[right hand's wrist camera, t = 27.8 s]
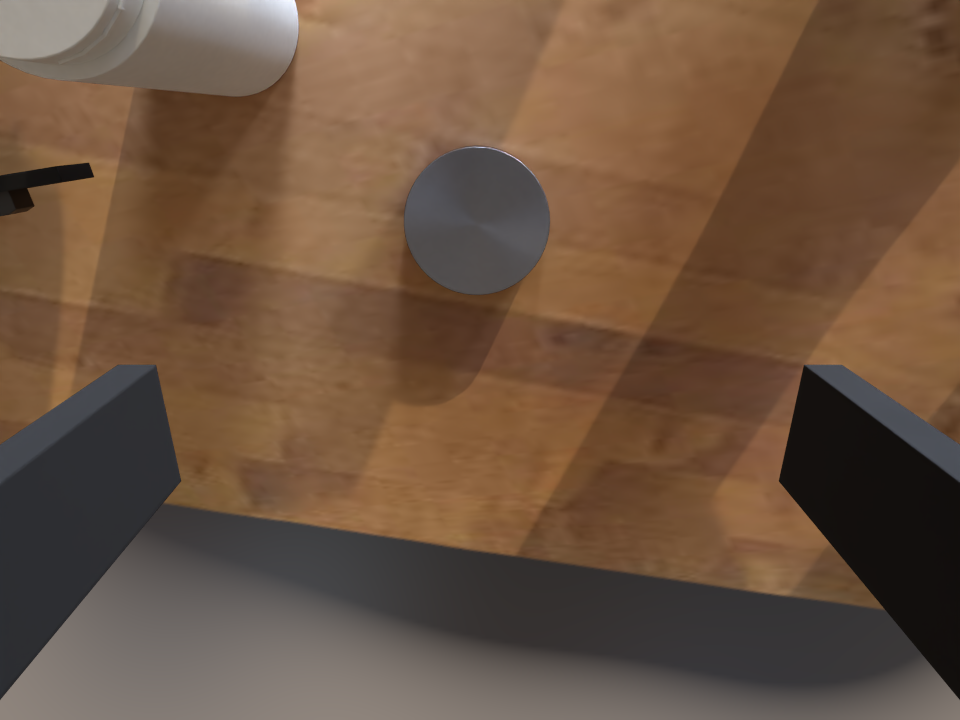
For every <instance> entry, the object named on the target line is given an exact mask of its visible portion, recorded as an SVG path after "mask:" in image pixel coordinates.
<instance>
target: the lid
mask: <svg viewBox="0 0 960 720" xmlns="http://www.w3.org/2000/svg"><path fill="white" fill-rule="evenodd" d="M549 228H550V213H549V207H548V202H547V199H546V196H545V193H544V191H543V189H542V187H541V185H540V183H539V181H538V180H537V178H536V177H535V176H534V174H533V173H532V172H531V171H530V170H529V169H528V168H527V167H526V166H525V165H524V164H523V163H522V162H521V161H520V160H518V159H517V158H515V157H514V156H512V155H511V154H509V153H507V152H505V151H503V150H500V149H496V148H493V147H488V146H465V147H461V148H457V149H454V150H452V151H449V152H447V153H445V154H443V155H442V156H440V157H438V158H437V159H436V160H434V161H433V162H432V163H431V164H430V165H428V166H427V167H426V168H425V169H424V170H423V171H422V173H421V174H420V175H419V177H418V178H417V179H416V181H415V183H414V184H413V186H412V188H411V190H410V193H409V195H408V198H407V202H406V206H405V212H404V229H405V236H406V240H407V243H408V246H409V249H410V251H411V254H412V255H413V257H414V259H415V261H416V262H417V264H418V265H419V266H420V268H421V269H422V270H423V271H424V272H425V273H426V274H427V275H428V276H429V277H430V278H431V279H433V280H434V281H435V282H437V283H438V284H440V285H442V286H443V287H445V288H448V289H450V290H452V291H456V292H459V293H463V294H469V295H483V294H491V293H495V292H499V291H501V290H504V289H507V288H509V287H511V286H513V285H514V284H516V283H517V282H519V281H520V280H522V279H523V278H524V277H525V276H526V275H527V274H528V273H529V272H530V271H531V270H532V269H533V268H534V267H535V265H536V264H537V262H538V261H539V259H540V257H541V255H542V253H543V251H544V249H545V246H546V243H547V240H548V235H549Z"/></svg>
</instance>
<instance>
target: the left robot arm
mask: <svg viewBox="0 0 960 720" xmlns="http://www.w3.org/2000/svg"><path fill="white" fill-rule="evenodd" d="M92 177H94V175H93V173H92V170H91V167H90V165H89V163H83V164H73V165H64V166H55V167H49V168H43V169H37V170H31V171H25V172H19V173H13V174H7V175H1V176H0V216H4V215H10V214H15V213H20V212H25V211H28V210H29V209H31V208H32V207H34V204H33V201H32V199H31V197H30V194H29V192H28V189H27V188H31V187H37V186H43V185H49V184H55V183H61V182H67V181H74V180H80V179H86V178H92Z"/></svg>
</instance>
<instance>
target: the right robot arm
mask: <svg viewBox="0 0 960 720" xmlns="http://www.w3.org/2000/svg"><path fill="white" fill-rule="evenodd" d="M180 482H181V478H180V474H179V469H178V464H177V460H176V455H175V451H174V446H173V441H172V437H171V432H170V427H169V423H168V418H167V414H166V409H165V404H164V400H163V395H162V391H161V386H160V381H159V377H158V372H157V368H156V365H117V366H116V367H114V368H113V369H111V370H110V371H108V372H107V373H105V374H104V375H102V376H101V377H99V378H98V379H97V380H95V381H94V382H92V383H91V384H89V385H88V386H86V387H85V388H83V389H82V390H80V391H79V392H77V393H76V394H74V395H73V396H71V397H70V398H68V399H67V400H65V401H64V402H63V403H61V404H60V405H58V406H57V407H55V408H54V409H52V410H51V411H49V412H48V413H46V414H45V415H43V416H42V417H40V418H39V419H37V420H36V421H34V422H33V423H32V424H30V425H29V426H27V427H26V428H24V429H23V430H21V431H20V432H18V433H17V434H15V435H14V436H12V437H11V438H9V439H8V440H6V441H5V442H3V443H2V444H0V699H1V698H2V697H3V696H4V695H5V693H6V692H7V691H8V690H9V688H10V687H11V686H12V685H13V684H14V682H15V681H16V680H17V679H18V678H19V676H20V675H21V674H22V673H23V672H24V670H25V669H26V668H27V667H28V666H29V664H30V663H31V662H32V661H33V659H34V658H35V657H36V656H37V655H38V653H39V652H40V651H41V650H42V648H43V647H44V646H45V645H46V644H47V643H48V641H49V640H50V639H51V638H52V636H53V635H54V634H55V633H56V632H57V630H58V629H59V628H60V627H61V626H62V624H63V623H64V622H65V621H66V620H67V618H68V617H69V616H70V615H71V614H72V612H73V611H74V610H75V609H76V608H77V606H78V605H79V604H80V603H81V601H82V600H83V599H84V598H85V597H86V595H87V594H88V593H89V592H90V591H91V589H92V588H93V587H94V586H95V585H96V583H97V582H98V581H99V580H100V578H101V577H102V576H103V575H104V574H105V572H106V571H107V570H108V569H109V568H110V566H111V565H112V564H113V563H114V562H115V560H116V559H117V558H118V557H119V556H120V554H121V553H122V552H123V551H124V550H125V548H126V547H127V546H128V545H129V543H130V542H131V541H132V540H133V539H134V537H135V536H136V535H137V534H138V533H139V531H140V530H141V529H142V528H143V527H144V525H145V524H146V523H147V522H148V521H149V519H150V518H151V517H152V516H153V514H154V513H155V512H156V511H157V510H158V508H159V507H160V506H161V505H162V504H163V502H164V501H165V500H166V499H167V498H168V496H169V495H170V494H171V493H172V492H173V490H174V489H175V488H176V487H177V485H178V484H179V483H180ZM779 482H780V483H781V484H782V485H783V487H784V488H785V489H786V490H787V492H788V493H789V494H790V495H791V496H792V498H793V499H794V500H795V501H796V502H797V504H798V505H799V506H800V507H801V508H802V510H803V511H804V512H805V513H806V514H807V516H808V517H809V518H810V519H811V521H812V522H813V523H814V524H815V525H816V527H817V528H818V529H819V530H820V531H821V533H822V534H823V535H824V536H825V537H826V539H827V540H828V541H829V542H830V543H831V545H832V546H833V547H834V548H835V550H836V551H837V552H838V553H839V554H840V556H841V557H842V558H843V559H844V560H845V562H846V563H847V564H848V565H849V566H850V568H851V569H852V570H853V571H854V572H855V574H856V575H857V576H858V577H859V579H860V580H861V581H862V582H863V583H864V585H865V586H866V587H867V588H868V589H869V591H870V592H871V593H872V594H873V595H874V597H875V598H876V599H877V600H878V601H879V603H880V604H881V605H882V606H883V608H884V609H885V610H886V611H887V612H888V614H889V615H890V616H891V617H892V618H893V620H894V621H895V622H896V623H897V624H898V626H899V627H900V628H901V629H902V630H903V632H904V633H905V634H906V635H907V637H908V638H909V639H910V640H911V641H912V643H913V644H914V645H915V646H916V647H917V649H918V650H919V651H920V652H921V653H922V655H923V656H924V657H925V658H926V659H927V661H928V662H929V663H930V664H931V665H932V667H933V668H934V669H935V670H936V672H937V673H938V674H939V675H940V676H941V678H942V679H943V680H944V681H945V682H946V684H947V685H948V686H949V687H950V688H951V690H952V691H953V692H954V693H955V695H956V696H957V697H958V698H959V699H960V444H958V443H957V442H955V441H954V440H952V439H951V438H949V437H948V436H946V435H945V434H943V433H942V432H940V431H939V430H937V429H936V428H934V427H933V426H931V425H930V424H928V423H927V422H926V421H924V420H923V419H921V418H920V417H918V416H917V415H915V414H914V413H912V412H911V411H909V410H908V409H906V408H905V407H903V406H902V405H900V404H899V403H897V402H896V401H895V400H893V399H892V398H890V397H889V396H887V395H886V394H884V393H883V392H881V391H880V390H878V389H877V388H875V387H874V386H872V385H871V384H869V383H868V382H866V381H865V380H863V379H862V378H861V377H859V376H858V375H856V374H855V373H853V372H852V371H850V370H849V369H847V368H846V367H844V366H843V365H804V368H803V372H802V377H801V381H800V386H799V391H798V395H797V400H796V404H795V409H794V414H793V418H792V423H791V427H790V432H789V437H788V441H787V446H786V451H785V455H784V460H783V464H782V469H781V474H780V478H779Z"/></svg>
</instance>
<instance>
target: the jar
mask: <svg viewBox="0 0 960 720" xmlns="http://www.w3.org/2000/svg"><path fill="white" fill-rule="evenodd" d="M298 25H299V24H298V14H297V9H296V4H295V0H0V60H1V61H3V62H5V63H6V64H8V65H10V66H12V67H14V68H16V69H19V70H21V71H24V72H26V73H29V74H32V75H36V76H39V77H43V78H48V79H55V80H63V81H73V82H84V83H94V84H105V85H116V86H126V87H137V88H147V89H158V90H168V91H179V92H190V93H200V94H211V95H221V96H234V97H241V96H249V95H253V94H256V93H259V92H261V91H263V90H265V89H267V88H269V87H270V86H272V85H273V84H274V83H275V82H276V81H278V80H279V79H280V78H281V76H282V75H283V74H284V73H285V71H286V70H287V68H288V66H289V65H290V63H291V61H292V58H293V56H294V53H295V50H296V46H297V40H298Z"/></svg>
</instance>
